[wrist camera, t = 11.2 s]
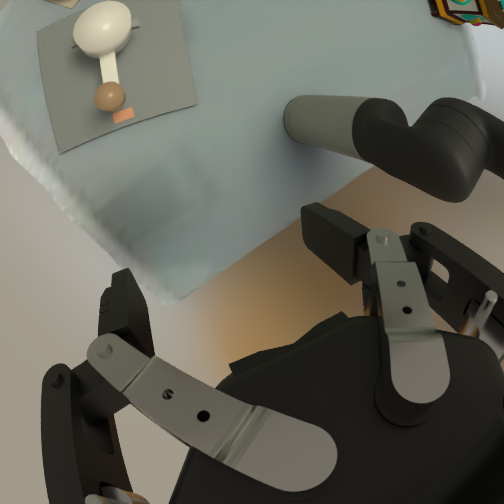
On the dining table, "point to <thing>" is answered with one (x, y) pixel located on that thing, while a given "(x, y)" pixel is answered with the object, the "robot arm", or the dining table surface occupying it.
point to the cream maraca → (105, 46)
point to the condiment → (65, 2)
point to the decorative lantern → (471, 11)
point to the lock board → (129, 70)
